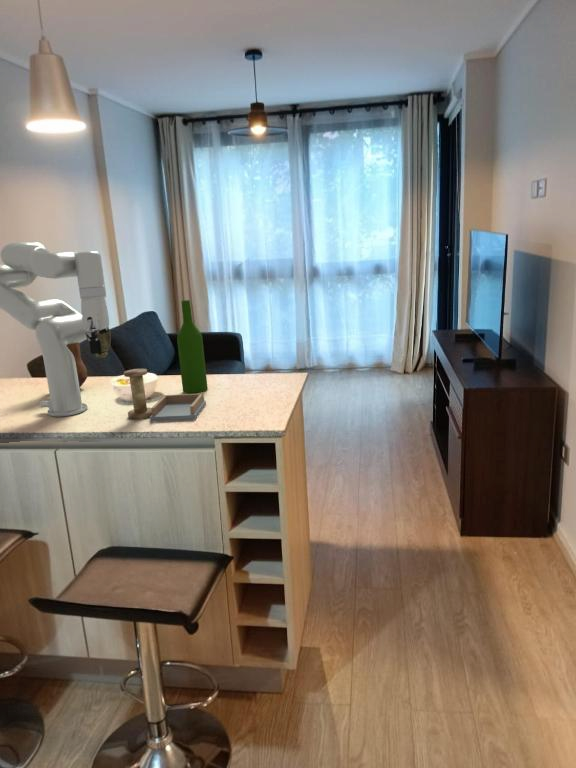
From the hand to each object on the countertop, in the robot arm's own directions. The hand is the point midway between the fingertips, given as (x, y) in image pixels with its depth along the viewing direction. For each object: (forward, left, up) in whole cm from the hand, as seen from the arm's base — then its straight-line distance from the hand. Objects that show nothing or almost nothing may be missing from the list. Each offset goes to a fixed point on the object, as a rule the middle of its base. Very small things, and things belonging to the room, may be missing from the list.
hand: (101, 350), depth 183 cm
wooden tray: (+22, +1, -22) cm, 31 cm away
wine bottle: (+21, +29, -22) cm, 42 cm away
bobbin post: (+10, 0, -22) cm, 24 cm away
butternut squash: (-30, +39, -22) cm, 54 cm away
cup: (0, 0, -2) cm, 2 cm away
